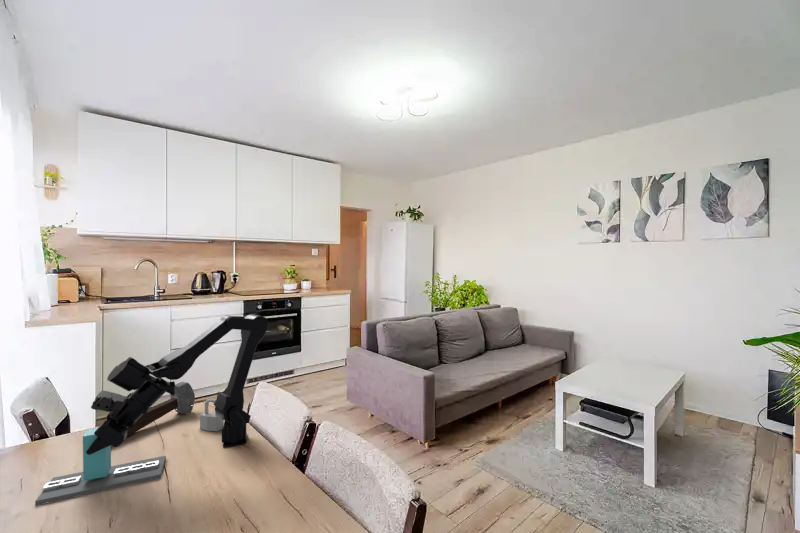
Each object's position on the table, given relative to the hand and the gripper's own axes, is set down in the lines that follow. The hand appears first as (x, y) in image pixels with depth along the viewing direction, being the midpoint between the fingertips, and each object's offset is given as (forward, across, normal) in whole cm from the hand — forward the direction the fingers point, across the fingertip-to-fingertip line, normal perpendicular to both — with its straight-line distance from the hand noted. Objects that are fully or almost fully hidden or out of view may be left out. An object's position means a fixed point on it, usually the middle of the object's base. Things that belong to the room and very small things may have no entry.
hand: (90, 449), depth 91 cm
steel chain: (+3, 0, +7) cm, 8 cm away
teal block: (+4, 0, +6) cm, 7 cm away
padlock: (-12, -21, +25) cm, 35 cm away
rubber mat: (+4, 0, +8) cm, 9 cm away
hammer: (+1, -31, +12) cm, 33 cm away
